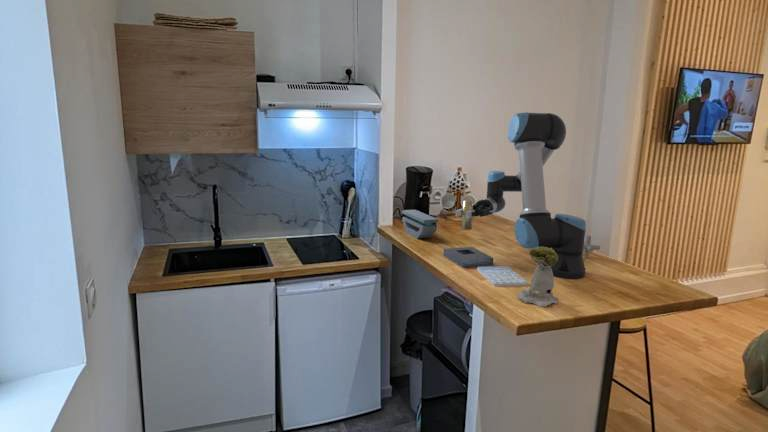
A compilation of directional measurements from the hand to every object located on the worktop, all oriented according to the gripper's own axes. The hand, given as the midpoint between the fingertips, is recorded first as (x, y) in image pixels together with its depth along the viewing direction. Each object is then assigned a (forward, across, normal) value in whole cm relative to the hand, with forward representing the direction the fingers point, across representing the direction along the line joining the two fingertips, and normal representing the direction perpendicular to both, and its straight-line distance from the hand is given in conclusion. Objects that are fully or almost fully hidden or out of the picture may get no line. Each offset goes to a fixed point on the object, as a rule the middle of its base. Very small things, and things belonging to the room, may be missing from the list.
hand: (461, 214), depth 202 cm
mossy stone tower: (+23, -42, -20) cm, 52 cm away
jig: (-2, -3, -20) cm, 20 cm away
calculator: (+9, -23, -21) cm, 32 cm away
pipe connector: (-41, -42, -20) cm, 62 cm away
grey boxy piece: (-25, +36, -20) cm, 48 cm away
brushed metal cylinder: (-5, 0, -7) cm, 9 cm away
